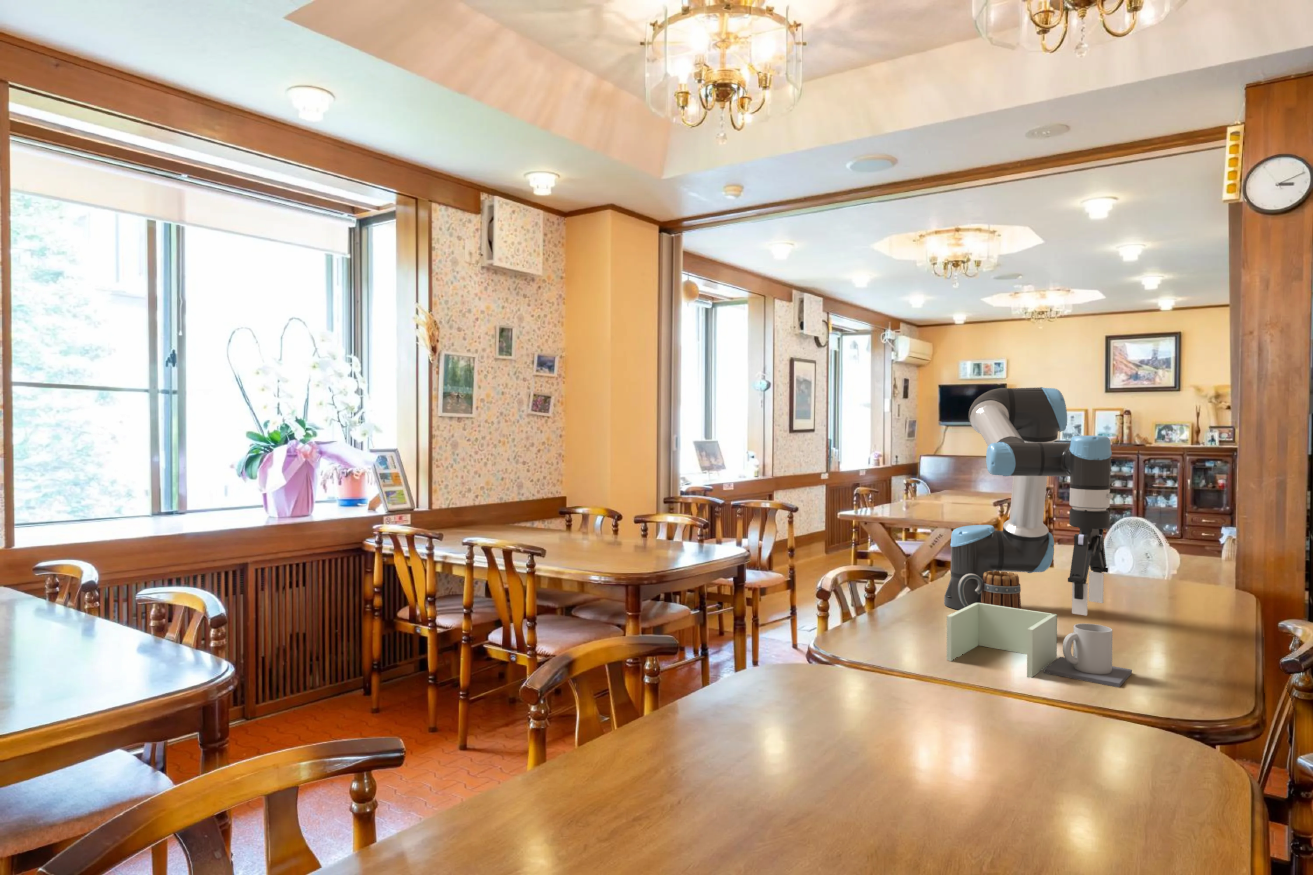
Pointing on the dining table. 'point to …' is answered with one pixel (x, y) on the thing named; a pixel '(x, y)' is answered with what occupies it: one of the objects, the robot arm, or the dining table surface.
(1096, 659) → the cup
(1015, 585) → the mug
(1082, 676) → the mat
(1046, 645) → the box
